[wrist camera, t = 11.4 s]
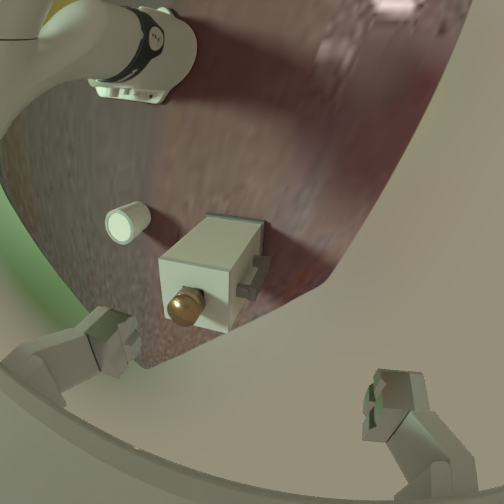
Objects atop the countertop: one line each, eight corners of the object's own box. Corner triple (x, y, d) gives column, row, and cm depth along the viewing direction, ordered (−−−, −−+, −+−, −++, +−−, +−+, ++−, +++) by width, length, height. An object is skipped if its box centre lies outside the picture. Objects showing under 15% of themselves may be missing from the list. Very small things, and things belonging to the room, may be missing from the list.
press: (207, 264, 58) (163, 319, 43) (207, 212, 54) (155, 255, 38) (273, 276, 56) (247, 339, 40) (278, 222, 51) (251, 273, 36)
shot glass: (120, 209, 58) (99, 220, 52) (140, 192, 55) (119, 202, 49) (138, 236, 60) (118, 250, 54) (159, 221, 57) (140, 235, 51)
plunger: (212, 261, 56) (159, 328, 38) (212, 225, 53) (152, 282, 35) (250, 268, 54) (209, 342, 37) (253, 231, 51) (208, 295, 34)
